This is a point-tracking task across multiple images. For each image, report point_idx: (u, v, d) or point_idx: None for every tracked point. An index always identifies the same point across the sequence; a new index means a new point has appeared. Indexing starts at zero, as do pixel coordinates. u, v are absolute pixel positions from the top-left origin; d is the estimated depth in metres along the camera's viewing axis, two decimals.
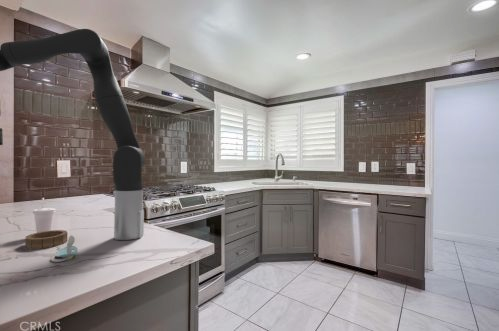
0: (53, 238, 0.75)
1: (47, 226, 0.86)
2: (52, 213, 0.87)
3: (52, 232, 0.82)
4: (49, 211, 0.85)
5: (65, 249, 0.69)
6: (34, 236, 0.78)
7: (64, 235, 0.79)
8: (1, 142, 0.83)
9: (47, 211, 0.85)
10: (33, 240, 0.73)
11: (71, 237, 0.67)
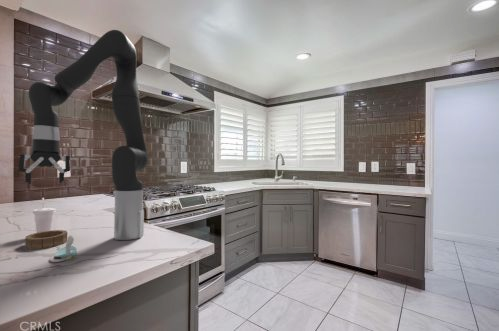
0: (53, 238, 0.75)
1: (47, 226, 0.86)
2: (52, 213, 0.87)
3: (52, 232, 0.82)
4: (49, 211, 0.85)
5: (64, 249, 0.69)
6: (34, 236, 0.78)
7: (64, 235, 0.79)
8: None
9: (47, 211, 0.85)
10: (33, 240, 0.73)
11: (70, 237, 0.67)
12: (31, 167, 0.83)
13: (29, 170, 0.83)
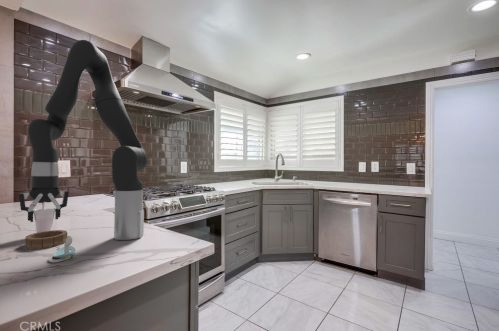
0: (53, 238, 0.75)
1: (47, 226, 0.86)
2: (52, 213, 0.87)
3: (52, 232, 0.82)
4: (49, 211, 0.85)
5: (63, 249, 0.68)
6: (34, 236, 0.78)
7: (64, 235, 0.79)
8: None
9: (47, 211, 0.85)
10: (33, 240, 0.73)
11: (69, 237, 0.66)
12: (32, 205, 0.83)
13: (31, 209, 0.83)
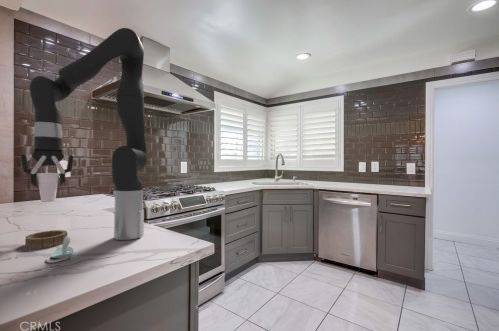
0: (53, 238, 0.75)
1: (51, 191, 0.81)
2: (56, 177, 0.82)
3: (52, 232, 0.82)
4: (53, 174, 0.81)
5: (61, 250, 0.68)
6: (34, 236, 0.78)
7: (64, 235, 0.79)
8: None
9: (51, 174, 0.80)
10: (33, 240, 0.73)
11: (66, 238, 0.66)
12: (35, 167, 0.79)
13: (34, 171, 0.79)
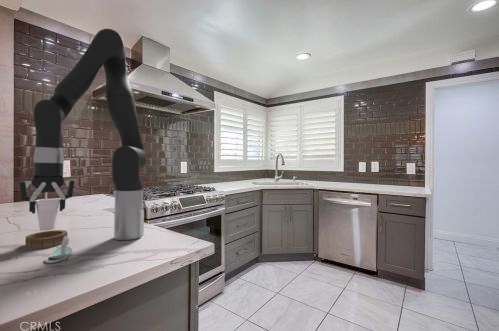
0: (53, 238, 0.75)
1: (50, 219, 0.77)
2: (56, 204, 0.79)
3: (52, 232, 0.82)
4: (53, 202, 0.77)
5: (59, 250, 0.68)
6: (34, 236, 0.78)
7: (64, 235, 0.79)
8: None
9: (51, 202, 0.77)
10: (33, 240, 0.73)
11: (65, 238, 0.66)
12: (34, 195, 0.75)
13: (33, 198, 0.75)
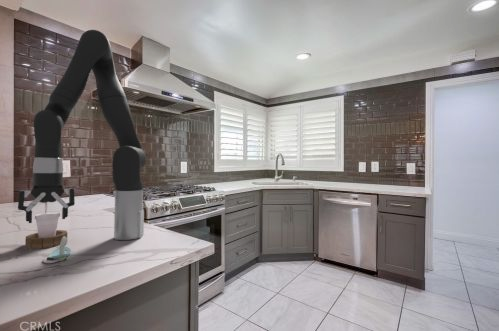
0: (53, 238, 0.75)
1: (50, 233, 0.77)
2: (56, 218, 0.78)
3: None
4: (53, 216, 0.77)
5: (58, 250, 0.68)
6: (34, 236, 0.78)
7: (64, 235, 0.79)
8: None
9: (50, 216, 0.77)
10: (33, 240, 0.73)
11: (64, 238, 0.66)
12: (32, 204, 0.75)
13: (30, 208, 0.75)
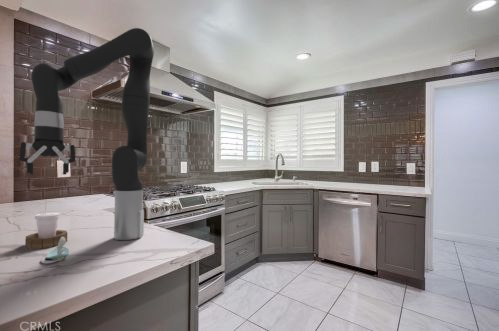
0: (53, 238, 0.75)
1: (50, 233, 0.77)
2: (56, 218, 0.79)
3: None
4: (53, 216, 0.77)
5: (56, 250, 0.68)
6: (34, 236, 0.78)
7: (64, 235, 0.79)
8: None
9: (51, 216, 0.77)
10: (33, 240, 0.73)
11: (62, 238, 0.66)
12: (33, 156, 0.76)
13: (31, 160, 0.76)
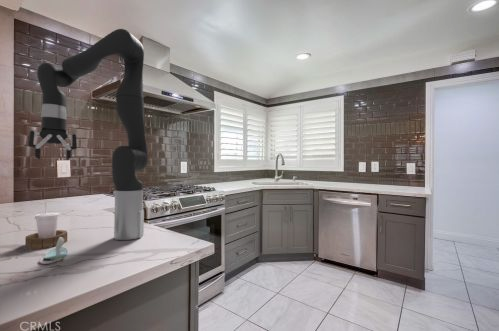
0: (53, 238, 0.75)
1: (50, 233, 0.77)
2: (56, 218, 0.78)
3: None
4: (53, 216, 0.77)
5: (54, 250, 0.67)
6: (34, 236, 0.78)
7: (64, 235, 0.79)
8: None
9: (50, 216, 0.77)
10: (33, 240, 0.73)
11: (60, 238, 0.65)
12: (40, 143, 0.88)
13: (38, 146, 0.88)
